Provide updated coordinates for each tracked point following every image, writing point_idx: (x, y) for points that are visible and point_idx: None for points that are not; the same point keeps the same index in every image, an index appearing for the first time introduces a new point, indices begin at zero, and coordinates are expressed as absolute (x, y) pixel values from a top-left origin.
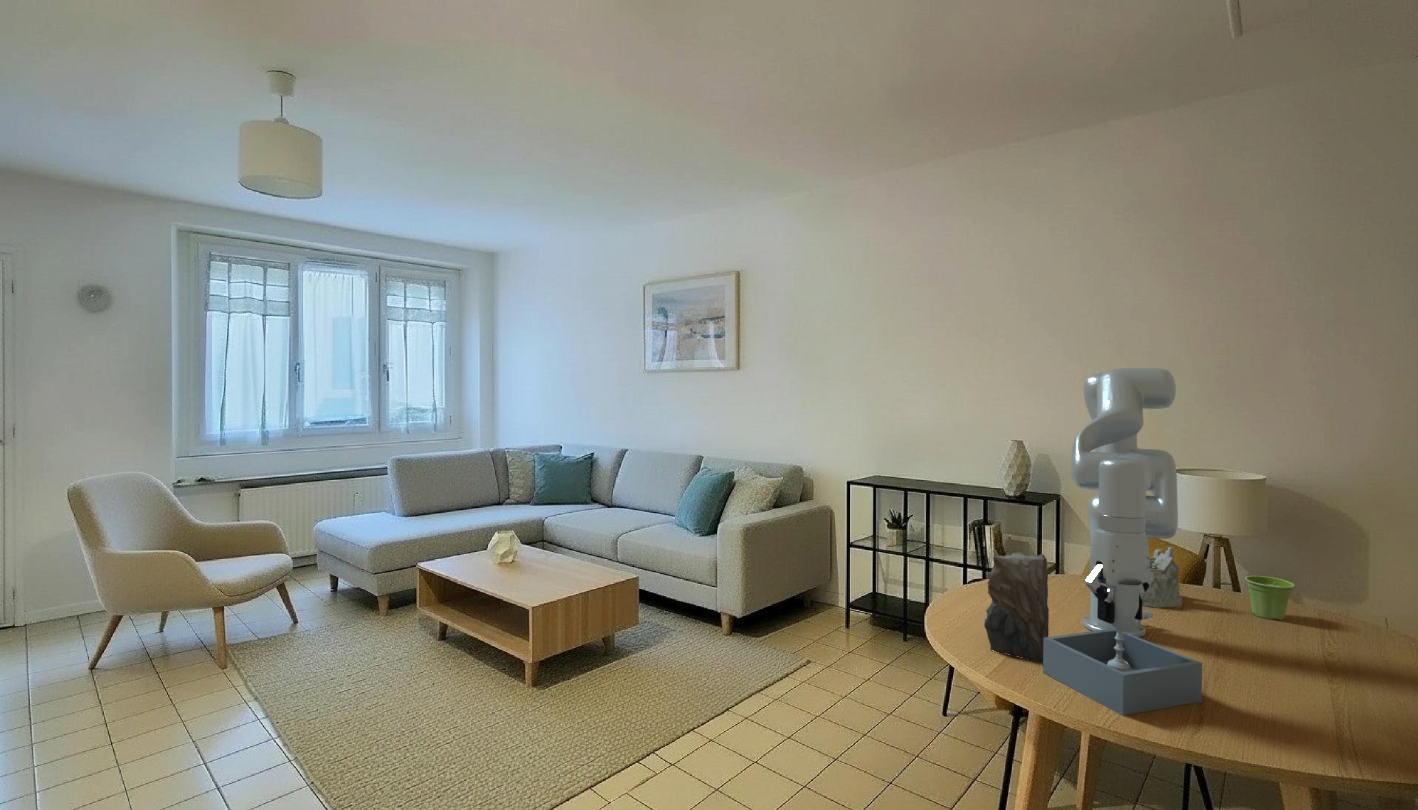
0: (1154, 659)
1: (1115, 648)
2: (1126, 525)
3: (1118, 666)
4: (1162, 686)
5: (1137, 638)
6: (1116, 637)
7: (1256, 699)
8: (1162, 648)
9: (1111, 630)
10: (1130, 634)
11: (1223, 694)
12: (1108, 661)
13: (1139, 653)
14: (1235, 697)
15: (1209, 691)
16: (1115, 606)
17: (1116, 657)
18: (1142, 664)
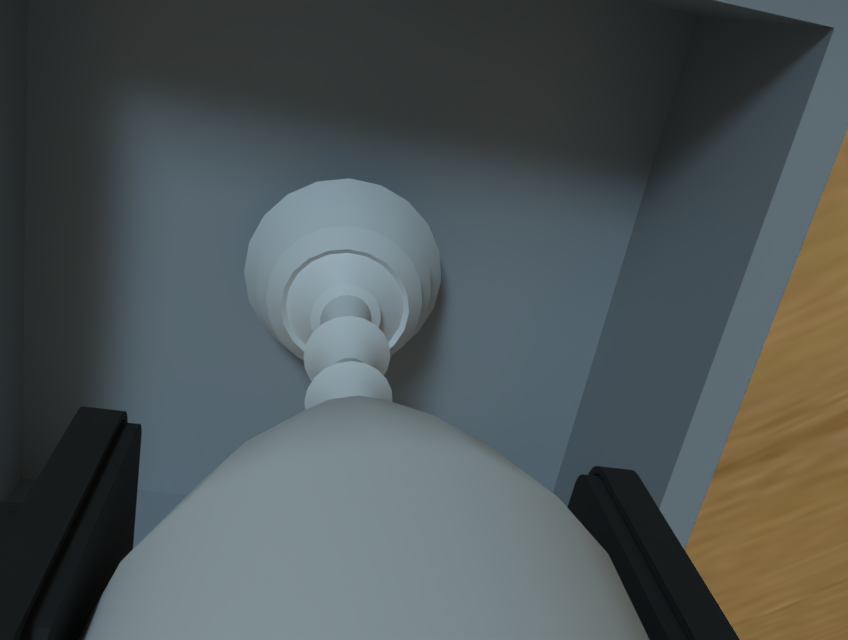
0: (648, 374)
1: (309, 348)
2: None
3: (282, 339)
4: None
5: (764, 262)
6: (317, 398)
7: (799, 608)
8: (683, 478)
9: (797, 4)
10: (824, 171)
11: (738, 531)
12: (316, 236)
13: (684, 256)
14: (746, 567)
15: (721, 489)
16: None
17: (322, 317)
18: (647, 258)
